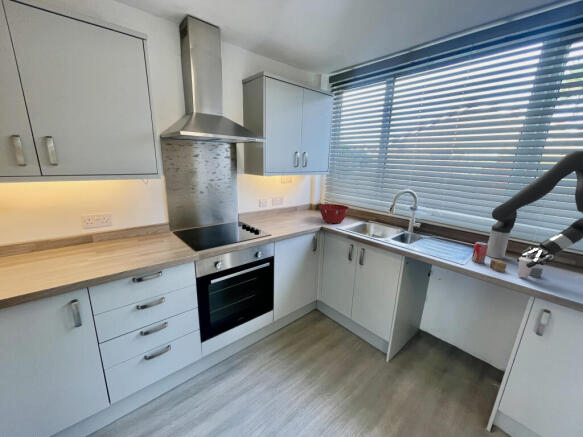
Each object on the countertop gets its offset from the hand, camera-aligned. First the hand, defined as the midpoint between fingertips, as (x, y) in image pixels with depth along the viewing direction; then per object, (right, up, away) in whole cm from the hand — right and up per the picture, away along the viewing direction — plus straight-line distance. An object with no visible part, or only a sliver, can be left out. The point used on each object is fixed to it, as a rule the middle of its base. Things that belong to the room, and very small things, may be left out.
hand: (522, 263), depth 126 cm
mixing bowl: (-81, +20, +109) cm, 137 cm away
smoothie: (+1, -7, +1) cm, 7 cm away
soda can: (-7, -3, +22) cm, 23 cm away
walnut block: (-4, -5, +11) cm, 13 cm away
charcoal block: (+10, -7, +6) cm, 14 cm away
